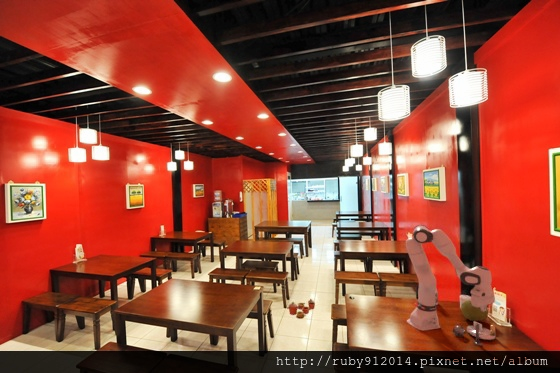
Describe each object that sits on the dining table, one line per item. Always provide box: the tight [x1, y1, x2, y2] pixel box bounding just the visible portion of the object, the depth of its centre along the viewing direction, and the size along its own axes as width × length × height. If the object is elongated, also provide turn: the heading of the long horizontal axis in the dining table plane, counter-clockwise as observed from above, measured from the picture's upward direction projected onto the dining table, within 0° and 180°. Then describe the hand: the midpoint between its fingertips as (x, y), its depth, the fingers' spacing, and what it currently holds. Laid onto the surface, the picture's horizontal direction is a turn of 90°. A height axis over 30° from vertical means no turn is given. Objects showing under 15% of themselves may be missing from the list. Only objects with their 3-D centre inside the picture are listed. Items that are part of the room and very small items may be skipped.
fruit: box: [460, 300, 489, 322], centre depth 186 cm, size 16×14×15 cm
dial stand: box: [473, 321, 483, 347], centre depth 159 cm, size 4×4×13 cm
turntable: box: [466, 324, 496, 341], centre depth 168 cm, size 15×15×7 cm
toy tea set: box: [286, 298, 316, 320], centre depth 208 cm, size 26×16×10 cm, turn 141°
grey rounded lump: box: [452, 324, 466, 338], centre depth 168 cm, size 6×6×5 cm
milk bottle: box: [435, 287, 439, 306], centre depth 214 cm, size 8×8×20 cm
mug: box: [459, 294, 471, 309], centre depth 202 cm, size 12×8×10 cm
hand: (483, 310), depth 170 cm, fingers closed
